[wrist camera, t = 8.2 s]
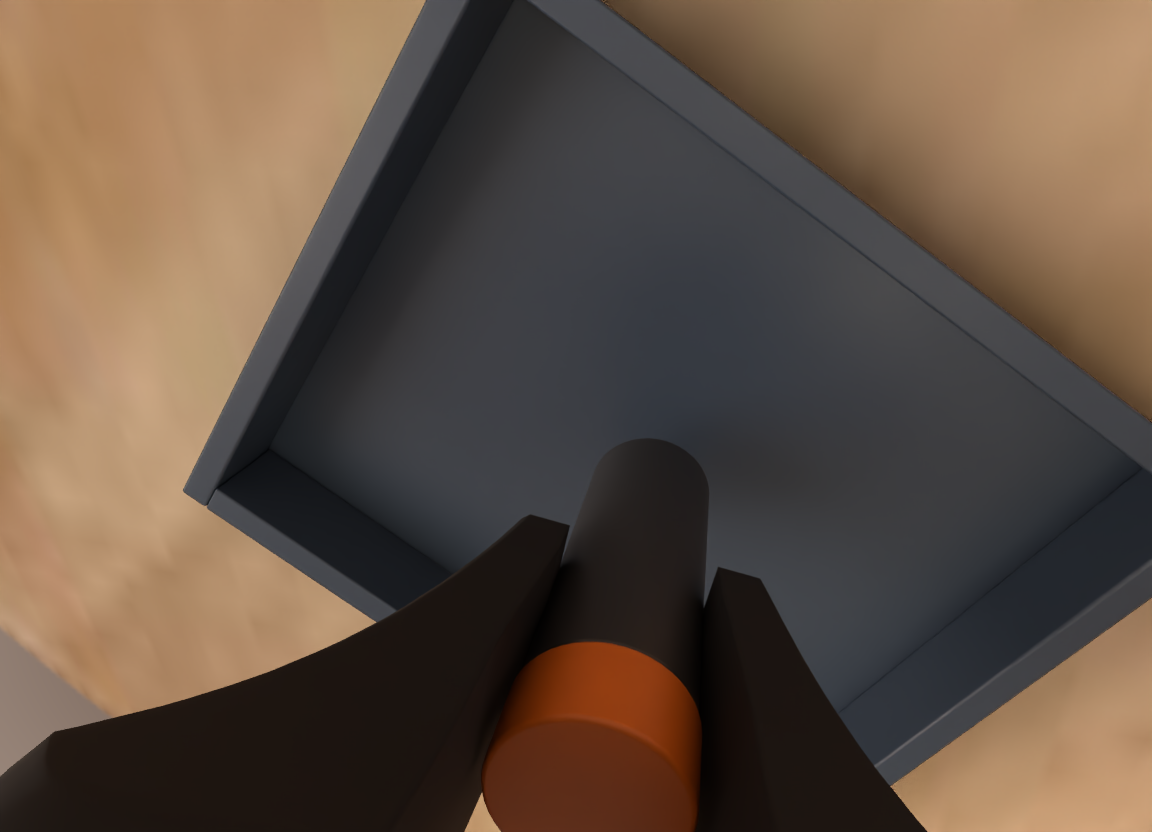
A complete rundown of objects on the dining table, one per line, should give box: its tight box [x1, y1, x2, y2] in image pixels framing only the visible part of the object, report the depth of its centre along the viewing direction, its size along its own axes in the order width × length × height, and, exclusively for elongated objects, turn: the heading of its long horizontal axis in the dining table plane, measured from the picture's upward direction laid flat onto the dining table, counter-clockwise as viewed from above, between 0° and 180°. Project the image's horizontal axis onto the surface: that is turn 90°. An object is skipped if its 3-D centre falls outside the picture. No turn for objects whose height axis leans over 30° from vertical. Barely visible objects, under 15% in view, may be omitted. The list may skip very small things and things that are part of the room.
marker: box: [481, 438, 709, 832], centre depth 11 cm, size 2×2×7 cm
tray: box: [183, 0, 1152, 786], centre depth 15 cm, size 15×12×2 cm
